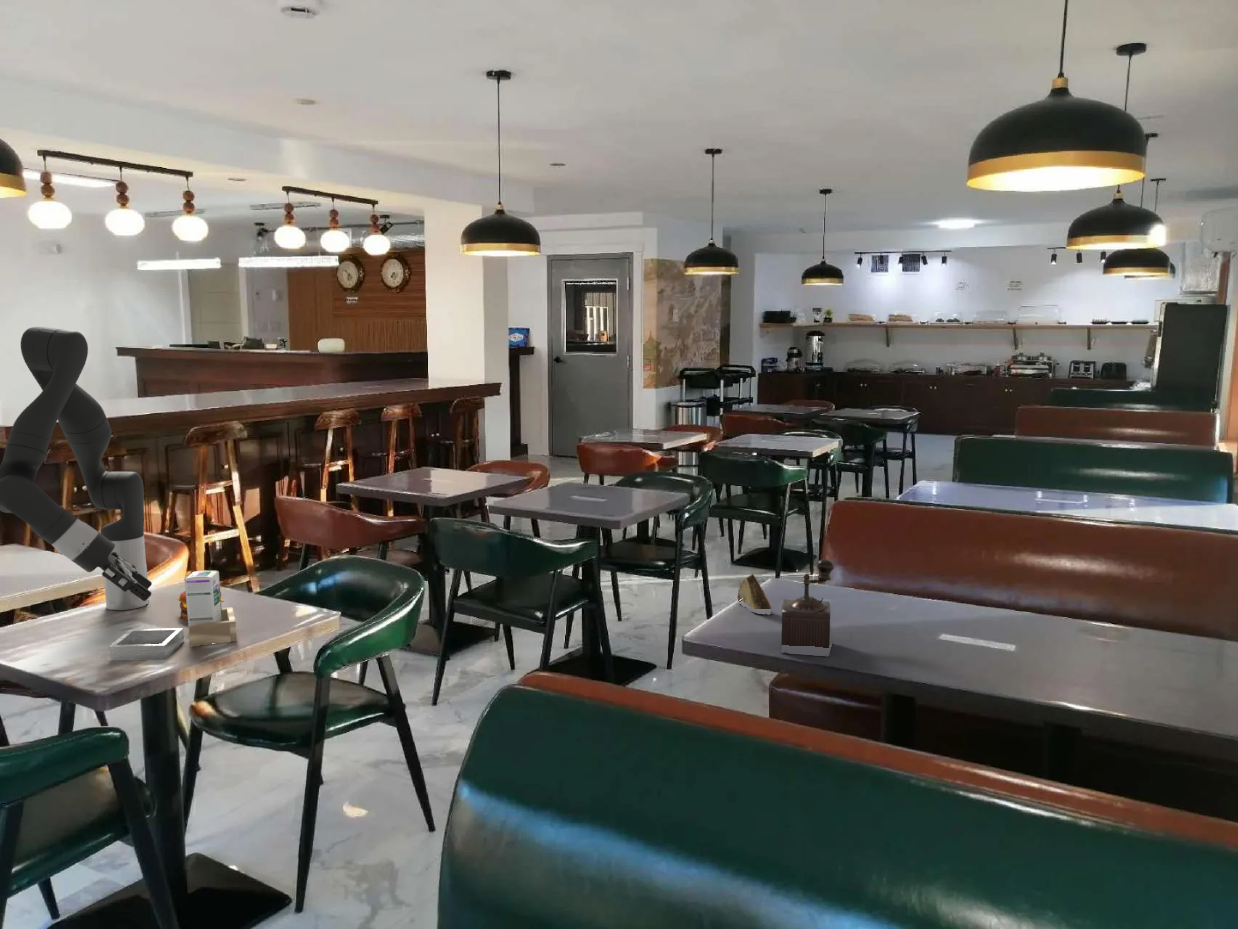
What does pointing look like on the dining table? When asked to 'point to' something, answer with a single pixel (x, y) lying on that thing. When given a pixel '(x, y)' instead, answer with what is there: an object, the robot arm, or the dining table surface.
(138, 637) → the gray rectangular tray
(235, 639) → the cradle
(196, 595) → the syrup box
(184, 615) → the hamburger
